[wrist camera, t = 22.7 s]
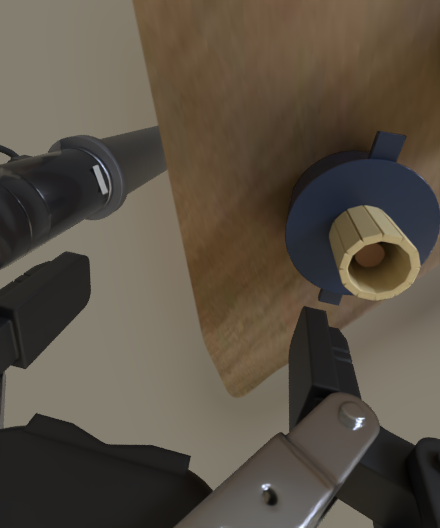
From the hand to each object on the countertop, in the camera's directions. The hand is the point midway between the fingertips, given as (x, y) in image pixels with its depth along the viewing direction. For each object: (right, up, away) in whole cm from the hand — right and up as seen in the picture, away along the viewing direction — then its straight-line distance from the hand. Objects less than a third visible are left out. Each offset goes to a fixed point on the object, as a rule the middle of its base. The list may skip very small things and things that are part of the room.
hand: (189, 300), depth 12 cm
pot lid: (+15, +5, +22) cm, 27 cm away
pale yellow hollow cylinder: (+15, +4, +21) cm, 26 cm away
